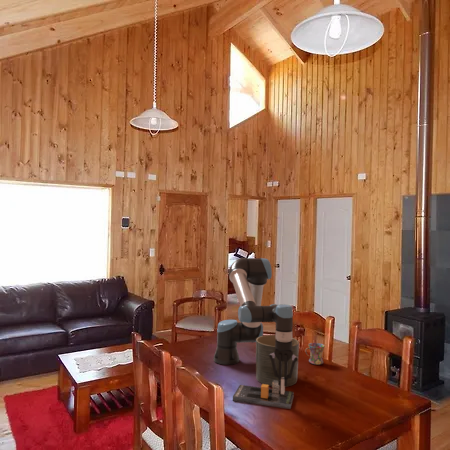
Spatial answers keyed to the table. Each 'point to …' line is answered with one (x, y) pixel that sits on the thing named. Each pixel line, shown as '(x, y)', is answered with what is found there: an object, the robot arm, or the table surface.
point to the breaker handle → (264, 391)
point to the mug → (315, 353)
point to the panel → (274, 398)
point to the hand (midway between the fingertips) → (282, 392)
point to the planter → (264, 364)
